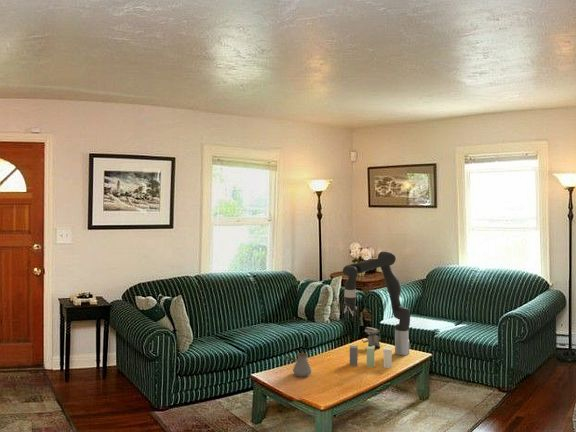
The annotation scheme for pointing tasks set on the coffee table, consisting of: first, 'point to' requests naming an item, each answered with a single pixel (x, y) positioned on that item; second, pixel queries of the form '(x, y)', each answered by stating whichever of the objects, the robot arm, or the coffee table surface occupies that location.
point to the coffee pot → (301, 365)
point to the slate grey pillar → (353, 355)
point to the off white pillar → (387, 357)
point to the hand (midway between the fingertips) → (350, 320)
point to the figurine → (372, 337)
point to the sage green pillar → (370, 356)
